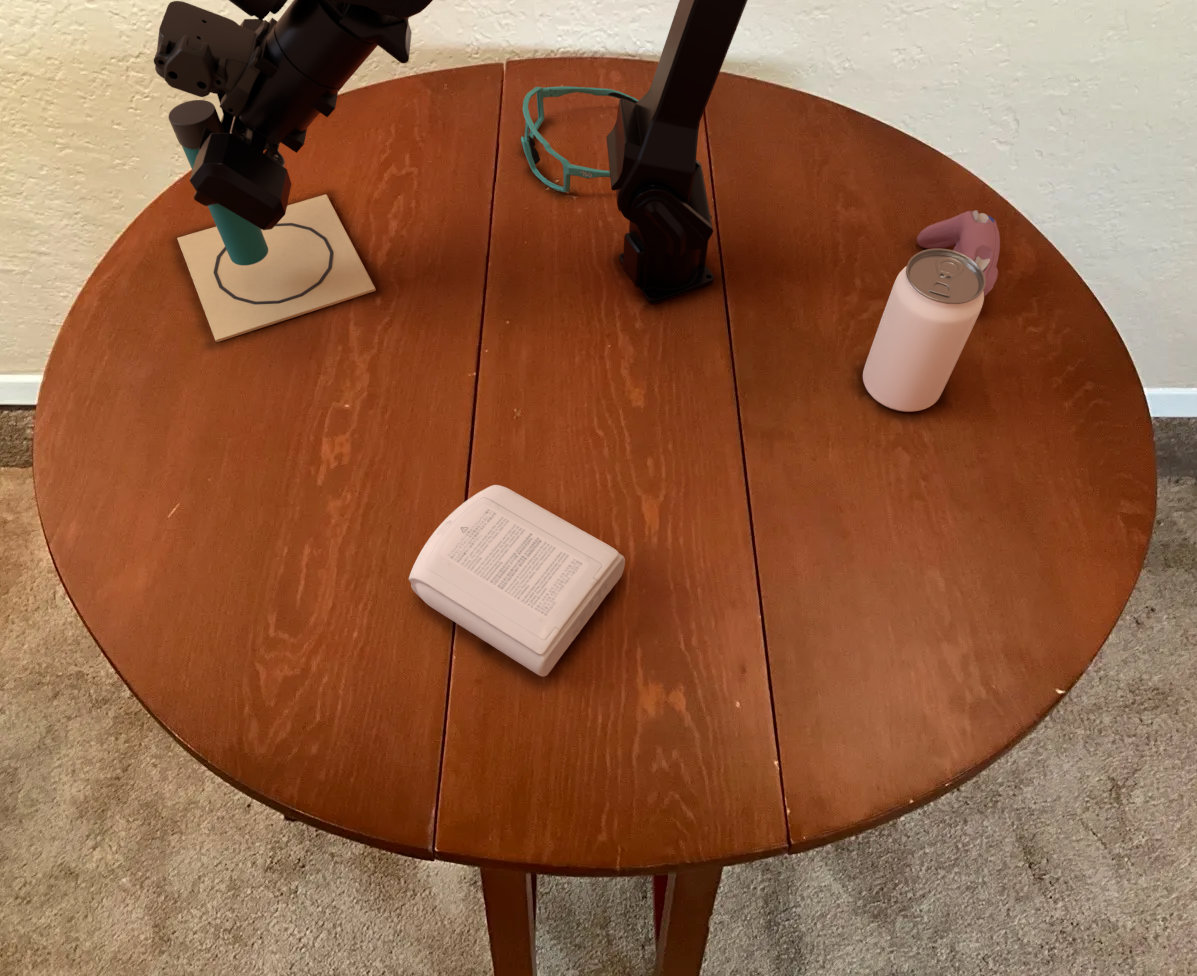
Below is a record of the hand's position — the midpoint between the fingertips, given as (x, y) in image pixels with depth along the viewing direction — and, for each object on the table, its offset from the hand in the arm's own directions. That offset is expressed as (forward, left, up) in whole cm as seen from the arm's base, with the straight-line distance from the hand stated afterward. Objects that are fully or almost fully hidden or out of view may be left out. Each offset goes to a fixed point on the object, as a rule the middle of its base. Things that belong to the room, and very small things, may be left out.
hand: (203, 186), depth 76 cm
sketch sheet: (-3, -1, -10) cm, 11 cm away
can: (-45, +35, -10) cm, 58 cm away
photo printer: (-12, +44, -8) cm, 46 cm away
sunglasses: (-36, -3, -10) cm, 38 cm away
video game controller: (-56, +27, -10) cm, 63 cm away
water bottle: (-1, +1, -6) cm, 7 cm away
